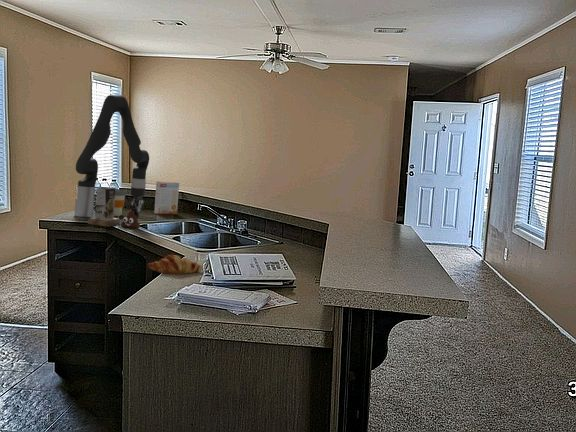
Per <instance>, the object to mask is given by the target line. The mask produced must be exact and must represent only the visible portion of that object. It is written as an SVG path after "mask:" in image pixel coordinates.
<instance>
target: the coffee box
mask: <svg viewBox="0 0 576 432" xmlns="http://www.w3.org/2000/svg"><path fill="white" fill-rule="evenodd" d="M115 189H116V188H112V187H97V188H96V196H95V198H96V199H95V211H94V213H95V214H94V217H95V218H99V219H110V218H114V217H115V216H114V202H115Z"/></svg>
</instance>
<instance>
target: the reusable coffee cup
mask: <svg viewBox="0 0 576 432" xmlns="http://www.w3.org/2000/svg"><path fill="white" fill-rule="evenodd" d="M114 189H115V202H114V216H113V217H115V216H116V217H117V216H118V217H119V216H122V212H123V208H124V206H125V202H126V200H125V198H126V196H127V194H126V190H125V189H121V188H114Z"/></svg>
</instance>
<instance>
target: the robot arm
mask: <svg viewBox="0 0 576 432" xmlns="http://www.w3.org/2000/svg"><path fill="white" fill-rule="evenodd" d="M115 113H119V115H120V117H121V119H122V134H123V137H124V139H125V141H126V143H127V145H128V146H127V147H128V151H129V157H130V158H131V160H132V161H133V162H134V163H135V165H136V166H135V167H133V168H132V176H131V184H130V196H132V201H130V202H129V205H130V208H131V210H134V214H135V215H136V217H137V220H139V217H140V212H141V211H142V210H143V207H144V203H145V201H144V200H143V197H145V196H146V183H147V182H146V180H147V179H146V178H147V177H146V176H147V169H148V166H149V164H150V154H149V152H148V151H147V150H145V149H141V147H140V145H141V144H142V142H141V139H140V137H139V136H140V135H138V131H137V129H136V127H135V124H134V121H133V117H132V113H131V110H130V106H129V102H128V100H127V98H126V96H124V95H122V94H109V95H107V96H106V97H105V98H104V101H103V104H102V107H101V110H100V114H99V116H98V118H97V121H96V123H95V125H94V127H93V129H92V131H91V134H90V136H89V138H88V140H87V142H86V145H85V147H84V148H83V150H82V152H81V153H80V155H79V156H78V159H77V160H76V163H75V171H76V173H78V174H80V175H85V177H83V178H82V179H80V180H78V182H77V194H76V196H77V197H76V198H75V200H74V215H73V216H75V217H79V218H92V217H94V207H95V193H96V190H95V188H96V183H97V178H98V172H99V171H98V170H99V163H98V160H97V159H96V158H93V157H94V155H95V154H96V153H97V152H99V151H100V150H101V149H102V148H104V146H106V144H107V142H108V141H109V139H110V136H111V121H112V117H113V115H114V114H115Z"/></svg>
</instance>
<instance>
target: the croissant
mask: <svg viewBox="0 0 576 432" xmlns="http://www.w3.org/2000/svg"><path fill="white" fill-rule="evenodd" d="M147 268H148V269H149V270H152V271H153V272H157V273H160V274H169V275H183V274H184V275H185V274H191V273H192V274H193V273H199V272H201V271H203V268H204V267H203V265H200V264H199V263H197V262H194V261H192V260H190V259H189V258H188V257H187V258H185V257H180V256H179V255H175V254H168V255H166V256H165V257H163V258H160V259H159V260H158V261H153V262H151V263H150V262H149V263H147Z"/></svg>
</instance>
